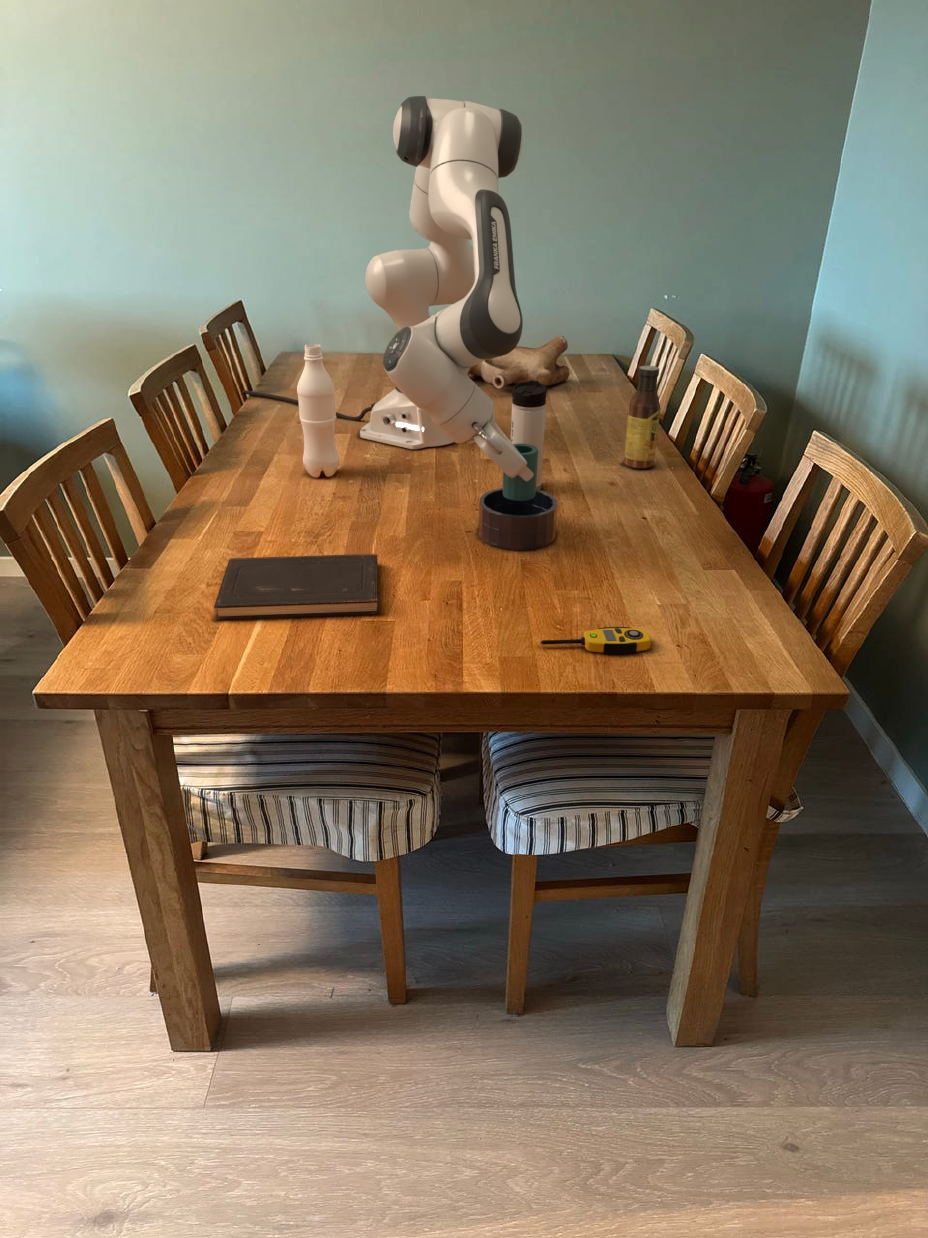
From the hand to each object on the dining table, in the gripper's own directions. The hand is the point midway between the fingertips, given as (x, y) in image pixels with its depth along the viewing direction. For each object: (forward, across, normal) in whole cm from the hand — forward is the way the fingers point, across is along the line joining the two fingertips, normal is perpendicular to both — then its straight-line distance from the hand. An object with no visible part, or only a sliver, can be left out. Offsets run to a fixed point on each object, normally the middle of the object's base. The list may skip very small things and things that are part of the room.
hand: (523, 469), depth 146 cm
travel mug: (+13, +20, +4) cm, 24 cm away
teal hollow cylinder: (+3, 0, +4) cm, 4 cm away
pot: (+8, 0, +9) cm, 12 cm away
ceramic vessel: (+23, +94, -7) cm, 97 cm away
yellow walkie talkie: (+8, -37, +8) cm, 39 cm away
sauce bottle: (+32, +28, -15) cm, 45 cm away
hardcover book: (-19, -14, +35) cm, 42 cm away
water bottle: (-14, +36, +30) cm, 49 cm away
